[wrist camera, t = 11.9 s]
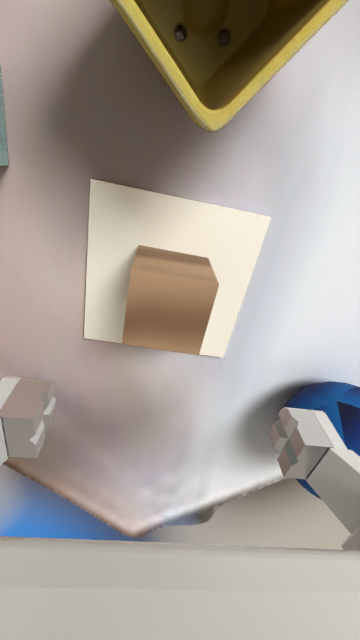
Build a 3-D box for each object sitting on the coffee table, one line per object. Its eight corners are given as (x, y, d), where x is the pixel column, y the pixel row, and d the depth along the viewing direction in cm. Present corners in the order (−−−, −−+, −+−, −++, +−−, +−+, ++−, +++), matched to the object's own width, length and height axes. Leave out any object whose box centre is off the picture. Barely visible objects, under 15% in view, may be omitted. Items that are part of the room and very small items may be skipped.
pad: (91, 178, 18) (90, 178, 18) (269, 216, 19) (271, 217, 19) (85, 335, 24) (83, 338, 23) (222, 354, 25) (223, 357, 25)
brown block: (138, 244, 20) (130, 269, 15) (208, 257, 20) (219, 284, 16) (130, 309, 22) (121, 346, 18) (192, 319, 23) (198, 357, 18)
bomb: (307, 446, 32) (403, 641, 19) (244, 403, 28) (309, 610, 15) (386, 398, 29) (566, 595, 16) (325, 341, 25) (498, 540, 12)
